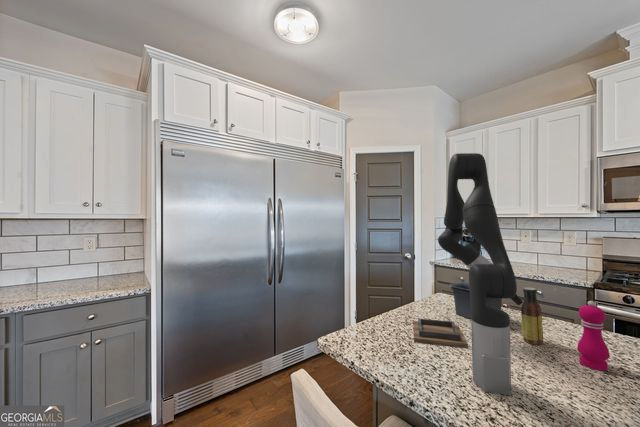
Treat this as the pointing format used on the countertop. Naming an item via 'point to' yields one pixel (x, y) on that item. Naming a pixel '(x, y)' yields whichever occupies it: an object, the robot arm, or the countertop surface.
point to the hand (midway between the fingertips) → (518, 300)
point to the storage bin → (468, 299)
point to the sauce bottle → (531, 318)
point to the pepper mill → (592, 338)
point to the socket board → (438, 333)
